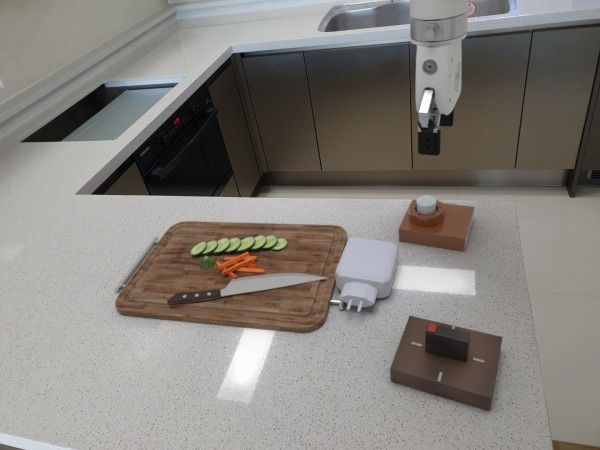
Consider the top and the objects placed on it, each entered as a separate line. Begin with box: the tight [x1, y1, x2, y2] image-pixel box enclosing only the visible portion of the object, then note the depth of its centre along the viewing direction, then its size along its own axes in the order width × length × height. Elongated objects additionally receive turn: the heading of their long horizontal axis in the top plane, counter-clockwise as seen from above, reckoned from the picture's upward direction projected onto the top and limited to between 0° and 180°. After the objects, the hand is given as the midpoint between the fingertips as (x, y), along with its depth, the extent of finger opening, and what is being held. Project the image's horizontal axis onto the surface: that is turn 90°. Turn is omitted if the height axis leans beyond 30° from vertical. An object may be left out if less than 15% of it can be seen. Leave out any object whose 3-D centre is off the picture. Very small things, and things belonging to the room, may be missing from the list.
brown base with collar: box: [398, 199, 476, 252], centre depth 87 cm, size 12×10×5 cm
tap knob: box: [425, 323, 471, 362], centre depth 62 cm, size 6×2×4 cm, turn 64°
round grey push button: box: [416, 194, 437, 215], centre depth 86 cm, size 4×4×2 cm
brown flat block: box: [389, 315, 503, 412], centre depth 64 cm, size 13×10×3 cm
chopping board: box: [114, 220, 348, 334], centre depth 88 cm, size 45×27×3 cm, turn 75°
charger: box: [335, 237, 400, 313], centre depth 78 cm, size 5×9×15 cm
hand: (436, 139), depth 73 cm, fingers open, 9 cm apart
